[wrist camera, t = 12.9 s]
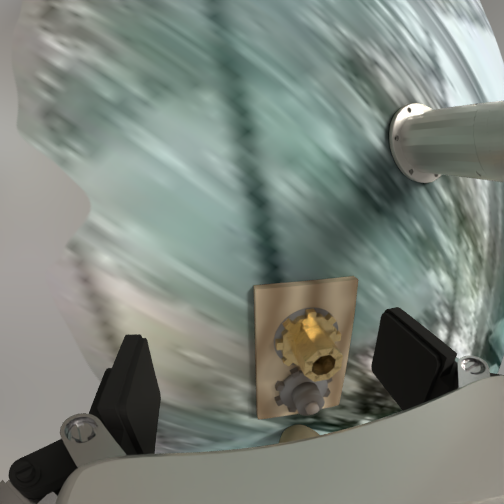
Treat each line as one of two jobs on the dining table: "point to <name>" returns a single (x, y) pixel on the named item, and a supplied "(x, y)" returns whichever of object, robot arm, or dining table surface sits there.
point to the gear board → (269, 359)
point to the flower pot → (297, 433)
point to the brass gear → (311, 345)
